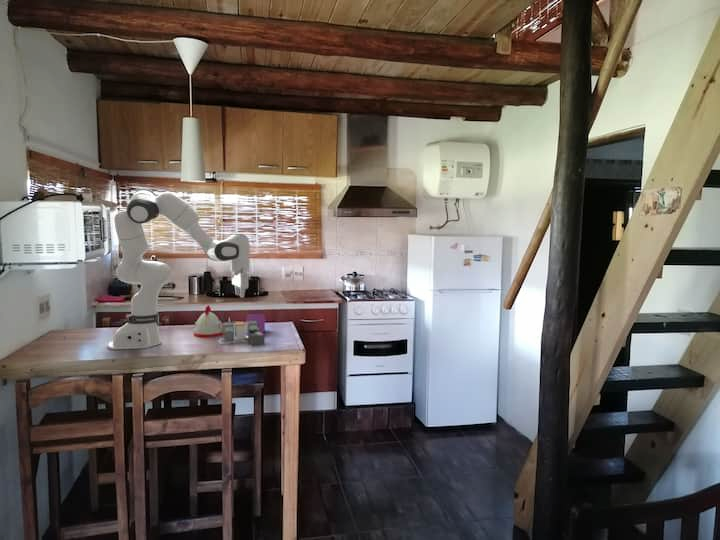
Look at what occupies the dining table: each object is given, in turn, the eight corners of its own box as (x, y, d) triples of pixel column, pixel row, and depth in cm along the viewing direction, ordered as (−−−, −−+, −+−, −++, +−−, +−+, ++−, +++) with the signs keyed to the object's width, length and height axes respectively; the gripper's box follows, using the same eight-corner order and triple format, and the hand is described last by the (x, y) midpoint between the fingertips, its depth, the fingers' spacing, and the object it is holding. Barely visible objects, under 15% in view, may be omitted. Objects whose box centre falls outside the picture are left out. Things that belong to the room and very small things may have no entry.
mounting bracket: (264, 348, 246) (264, 326, 261) (264, 335, 242) (264, 313, 257) (245, 348, 244) (247, 326, 259) (244, 335, 240) (246, 313, 255)
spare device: (252, 346, 225) (252, 335, 225) (248, 344, 230) (248, 332, 229) (264, 344, 229) (264, 333, 228) (260, 342, 233) (260, 331, 233)
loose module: (245, 338, 233) (245, 323, 232) (236, 339, 231) (236, 324, 230) (242, 336, 237) (242, 321, 237) (234, 336, 235) (234, 322, 235)
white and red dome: (190, 337, 240) (190, 307, 238) (198, 331, 253) (198, 303, 252) (218, 337, 240) (218, 308, 239) (225, 331, 254) (225, 303, 253)
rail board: (220, 344, 227) (220, 325, 226) (217, 341, 233) (217, 323, 232) (262, 341, 235) (262, 322, 235) (258, 337, 242) (258, 320, 241)
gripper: (252, 269, 224) (251, 298, 225) (241, 266, 242) (241, 293, 243) (238, 269, 221) (238, 299, 222) (229, 266, 239) (228, 293, 240)
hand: (239, 296), depth 233 cm, fingers open, 8 cm apart
